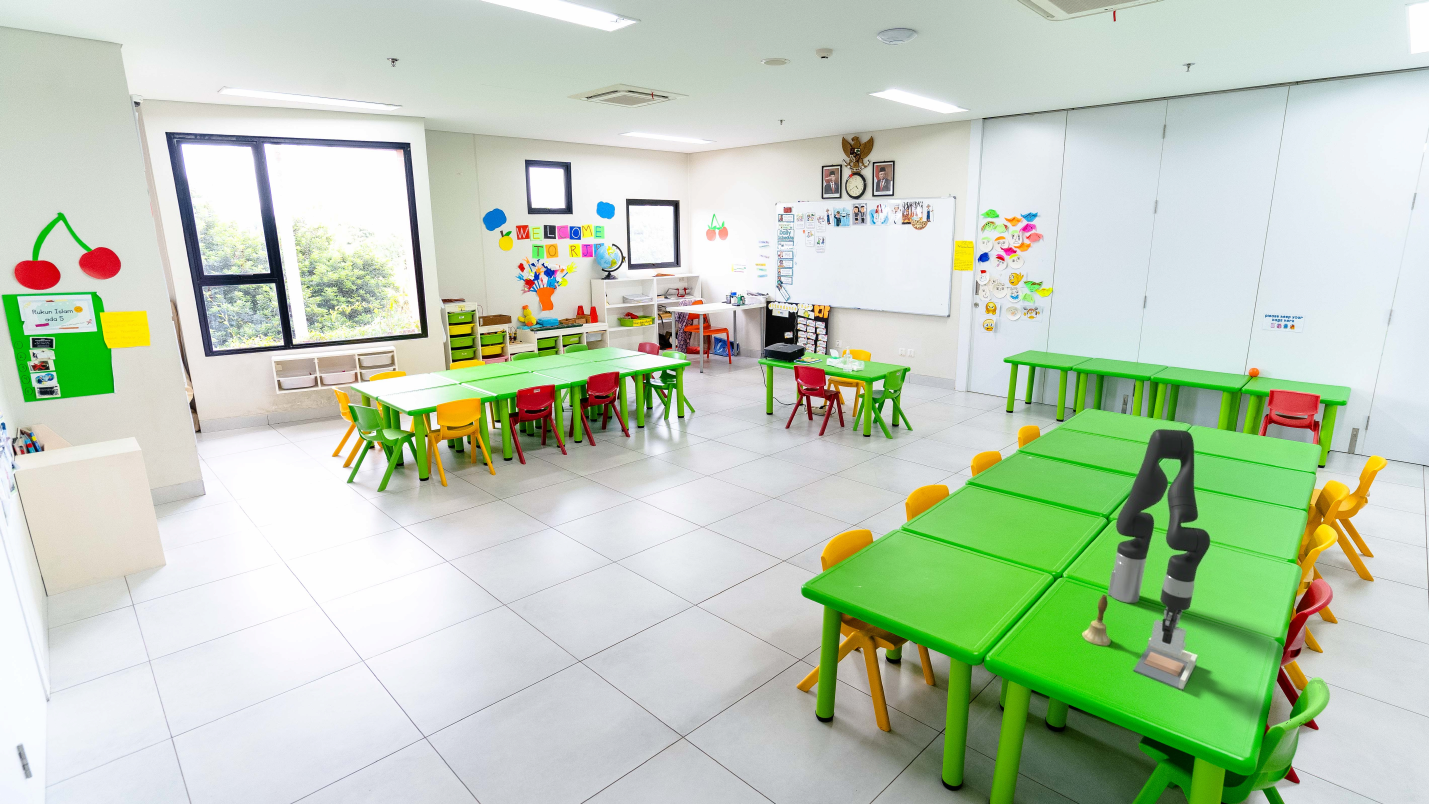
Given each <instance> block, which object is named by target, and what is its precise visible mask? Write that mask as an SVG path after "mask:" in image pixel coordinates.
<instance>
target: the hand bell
mask: <svg viewBox="0 0 1429 804" xmlns="http://www.w3.org/2000/svg"><path fill="white" fill-rule="evenodd" d="M1108 604H1109V603H1108V595H1106V594H1102V595H1101V597H1100V599H1099V601H1098V604H1097V610H1098V613H1097V616H1096V617H1097V618H1096V619H1095V620H1092V621H1091V622H1090V625H1089V627H1088V628H1087V629H1086V630H1084V631H1083V632H1082V634H1081V635H1082V638H1083V639H1084V640H1085V641H1086V642H1088V643H1091V644H1093V645H1096V646H1102V647H1104V646H1109V645H1110V644H1111V639H1110V637H1109V636H1108V633H1107V625H1106V624H1105V623H1104V622H1103V620H1104V614H1105V612H1106V610H1107V608H1108Z"/></svg>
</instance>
